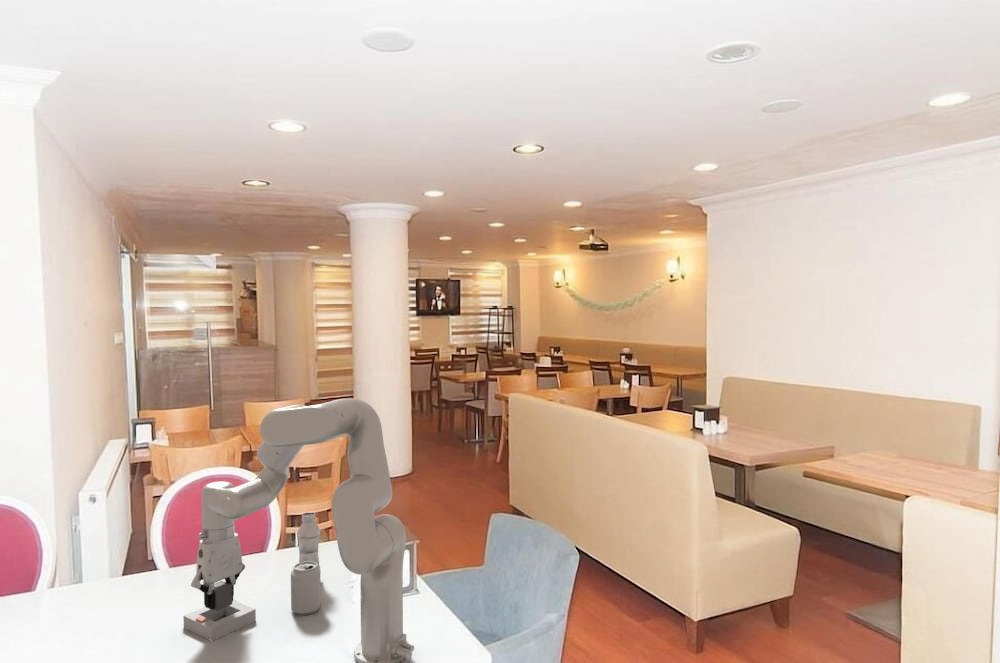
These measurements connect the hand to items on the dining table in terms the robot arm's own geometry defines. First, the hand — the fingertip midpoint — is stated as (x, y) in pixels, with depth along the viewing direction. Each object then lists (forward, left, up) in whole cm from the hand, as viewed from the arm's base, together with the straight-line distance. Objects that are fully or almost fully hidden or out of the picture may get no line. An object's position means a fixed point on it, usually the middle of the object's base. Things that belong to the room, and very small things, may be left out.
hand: (219, 603), depth 160 cm
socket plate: (0, 0, -5) cm, 5 cm away
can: (-12, -17, -6) cm, 22 cm away
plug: (0, 0, -1) cm, 1 cm away
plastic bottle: (+1, -29, -6) cm, 30 cm away
